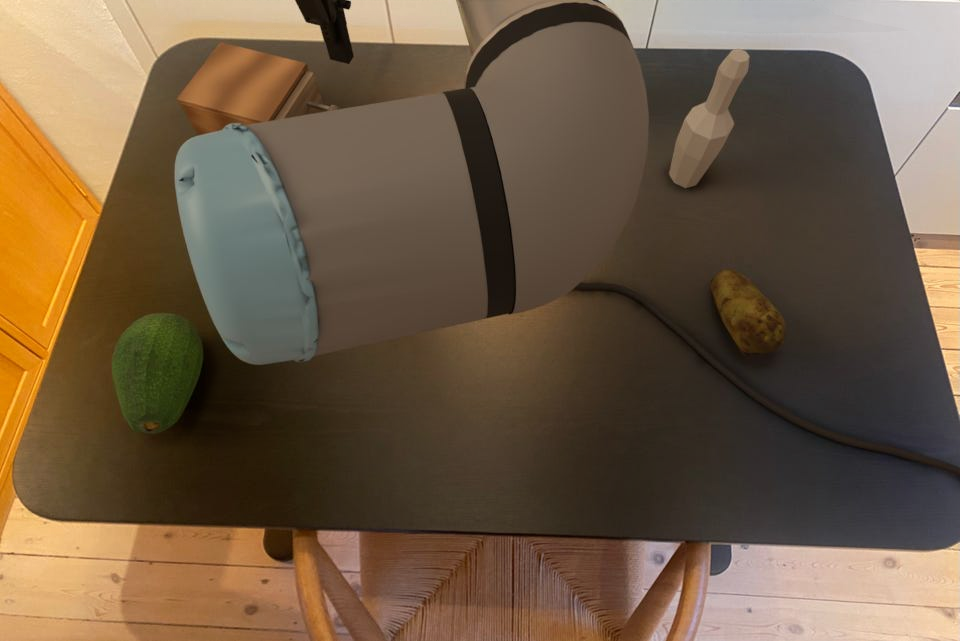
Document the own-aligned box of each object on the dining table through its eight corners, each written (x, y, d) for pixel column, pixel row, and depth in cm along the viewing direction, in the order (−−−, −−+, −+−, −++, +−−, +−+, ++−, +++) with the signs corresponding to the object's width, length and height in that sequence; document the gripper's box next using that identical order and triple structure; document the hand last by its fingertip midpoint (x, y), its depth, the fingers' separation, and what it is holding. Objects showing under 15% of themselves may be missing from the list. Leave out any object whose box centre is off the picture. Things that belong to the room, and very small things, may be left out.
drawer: (353, 119, 97) (343, 79, 90) (322, 171, 92) (309, 134, 85) (251, 92, 100) (233, 52, 93) (216, 142, 95) (195, 104, 88)
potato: (765, 286, 84) (791, 255, 77) (769, 372, 78) (798, 347, 71) (704, 278, 84) (724, 246, 77) (704, 362, 79) (726, 336, 72)
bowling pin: (655, 172, 93) (701, 51, 73) (684, 153, 95) (737, 30, 75) (685, 199, 91) (741, 81, 71) (714, 178, 92) (777, 58, 73)
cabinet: (321, 111, 99) (306, 63, 90) (286, 168, 94) (266, 122, 85) (242, 91, 101) (220, 41, 92) (203, 145, 96) (176, 98, 87)
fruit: (203, 441, 74) (164, 417, 65) (122, 443, 74) (72, 419, 65) (223, 331, 81) (191, 295, 72) (149, 333, 81) (107, 297, 72)
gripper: (285, -191, 60) (336, 19, 82) (220, -121, 55) (293, 85, 76) (354, -179, 59) (388, 31, 80) (294, -106, 54) (347, 99, 75)
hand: (341, 57), depth 78 cm, fingers closed
